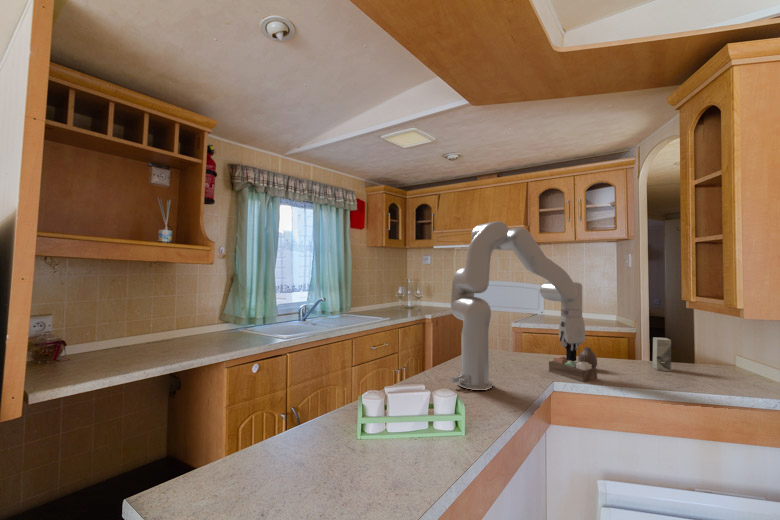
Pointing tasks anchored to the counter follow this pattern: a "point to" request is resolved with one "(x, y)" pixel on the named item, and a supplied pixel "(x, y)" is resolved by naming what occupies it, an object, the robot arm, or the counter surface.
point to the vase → (588, 357)
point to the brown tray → (573, 372)
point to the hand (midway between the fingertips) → (571, 360)
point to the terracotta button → (560, 359)
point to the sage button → (571, 363)
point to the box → (662, 354)
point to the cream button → (583, 365)
